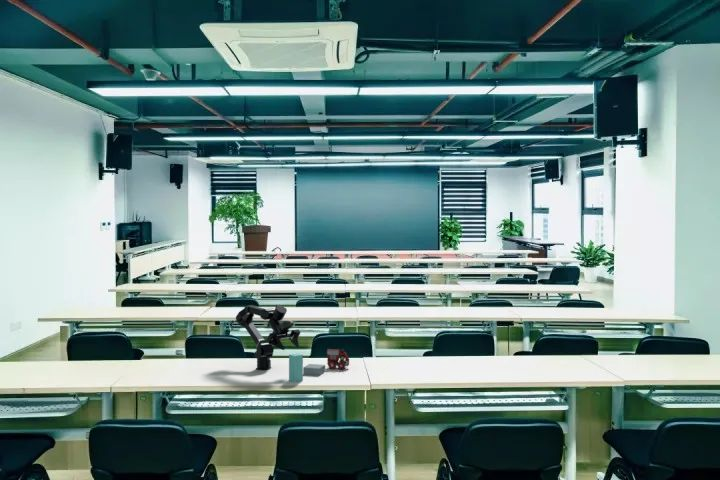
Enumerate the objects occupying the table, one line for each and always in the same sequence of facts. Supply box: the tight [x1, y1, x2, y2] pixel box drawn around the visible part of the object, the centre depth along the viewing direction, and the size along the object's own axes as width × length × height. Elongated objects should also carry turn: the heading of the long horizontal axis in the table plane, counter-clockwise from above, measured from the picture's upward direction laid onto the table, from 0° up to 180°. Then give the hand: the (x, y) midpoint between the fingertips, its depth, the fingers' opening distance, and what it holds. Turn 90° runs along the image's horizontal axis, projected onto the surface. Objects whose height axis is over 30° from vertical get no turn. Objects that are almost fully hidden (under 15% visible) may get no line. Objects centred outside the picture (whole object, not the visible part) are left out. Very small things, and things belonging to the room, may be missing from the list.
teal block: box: [288, 353, 304, 383], centre depth 315 cm, size 5×5×13 cm
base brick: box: [303, 363, 326, 376], centre depth 331 cm, size 9×9×4 cm
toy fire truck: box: [326, 348, 350, 371], centre depth 343 cm, size 7×12×10 cm, turn 82°
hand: (291, 348), depth 322 cm, fingers open, 9 cm apart
